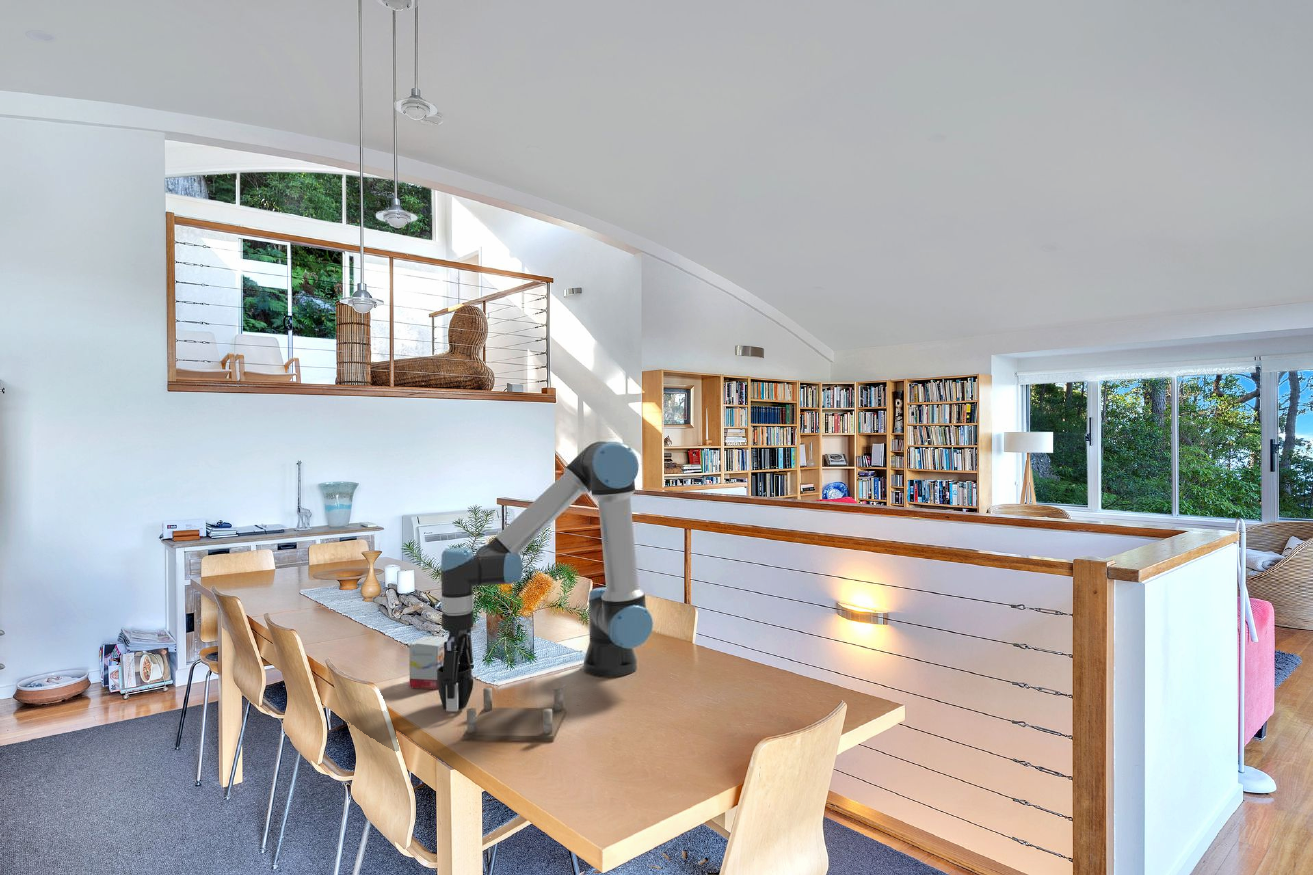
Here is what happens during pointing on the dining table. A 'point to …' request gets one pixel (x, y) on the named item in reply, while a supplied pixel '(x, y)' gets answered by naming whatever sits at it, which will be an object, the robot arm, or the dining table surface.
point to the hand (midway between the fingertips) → (458, 702)
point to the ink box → (426, 661)
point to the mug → (463, 685)
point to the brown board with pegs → (514, 721)
